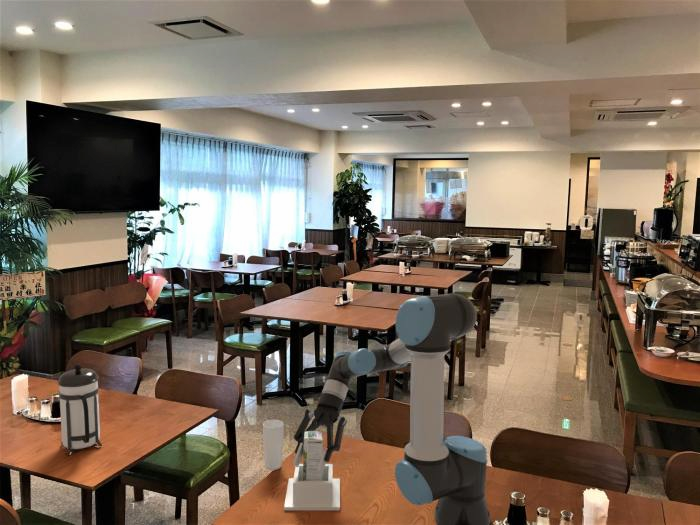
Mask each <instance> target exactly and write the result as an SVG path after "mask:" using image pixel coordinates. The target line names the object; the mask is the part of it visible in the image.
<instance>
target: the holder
mask: <svg viewBox="0 0 700 525" xmlns="http://www.w3.org/2000/svg"><path fill="white" fill-rule="evenodd" d="M333 466H334V465H333V463H326V464H325V467H324V470H323V473H322V481H303V463H300V464H299V467H296V466H295V465H294V468H295V469H294V473H293V477H291V478H290V477H289V478H288V481H287V482H288V483H287V487H286V492H285V494H286V495H285V500H284V507H283V511H341V489H340V488H341V483H340V482H341V479H340V478H335V477H333V475H334V474H333V470H334V467H333Z"/></svg>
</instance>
